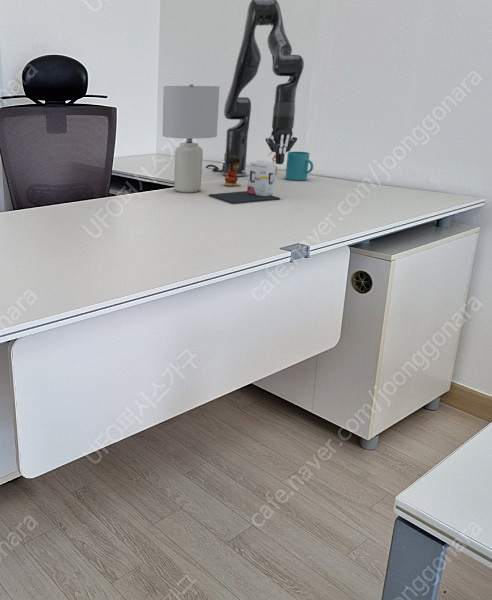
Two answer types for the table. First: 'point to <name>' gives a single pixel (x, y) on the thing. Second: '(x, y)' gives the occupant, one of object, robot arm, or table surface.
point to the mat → (242, 197)
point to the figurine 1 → (232, 170)
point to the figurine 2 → (273, 161)
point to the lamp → (189, 129)
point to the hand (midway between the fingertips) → (279, 164)
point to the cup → (298, 166)
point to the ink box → (261, 178)
